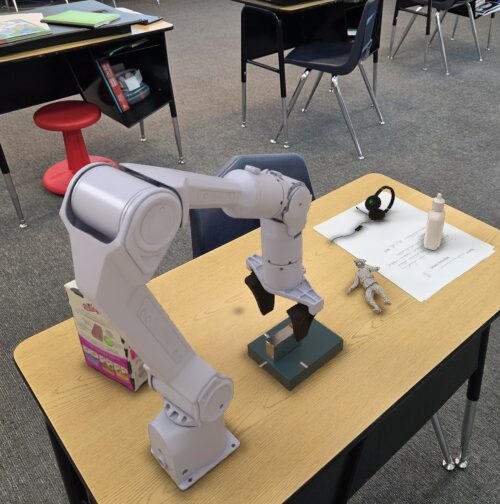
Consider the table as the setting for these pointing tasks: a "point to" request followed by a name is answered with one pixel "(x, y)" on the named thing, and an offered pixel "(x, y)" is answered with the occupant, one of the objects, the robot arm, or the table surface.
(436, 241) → the eye dropper bottle
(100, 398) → the table surface
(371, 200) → the headset
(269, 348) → the tap handle
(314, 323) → the tap console
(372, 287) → the soldier figure
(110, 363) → the candy bar box
